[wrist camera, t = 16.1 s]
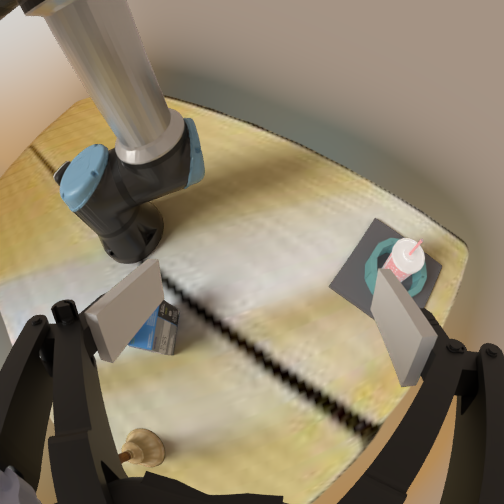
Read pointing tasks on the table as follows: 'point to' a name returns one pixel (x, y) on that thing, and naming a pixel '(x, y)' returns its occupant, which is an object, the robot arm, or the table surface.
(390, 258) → the beverage cup
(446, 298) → the table surface
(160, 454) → the hand bell
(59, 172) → the battery charger
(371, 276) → the cup holder
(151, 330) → the label tape box
